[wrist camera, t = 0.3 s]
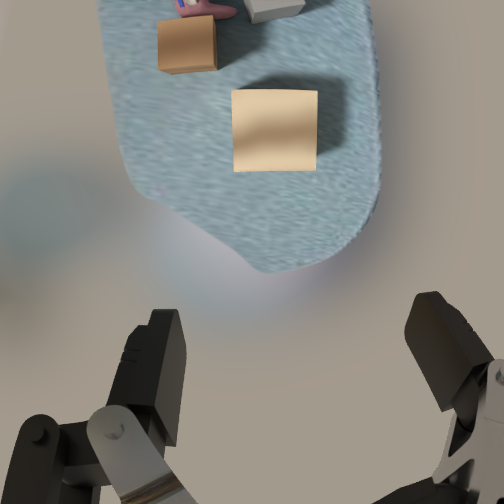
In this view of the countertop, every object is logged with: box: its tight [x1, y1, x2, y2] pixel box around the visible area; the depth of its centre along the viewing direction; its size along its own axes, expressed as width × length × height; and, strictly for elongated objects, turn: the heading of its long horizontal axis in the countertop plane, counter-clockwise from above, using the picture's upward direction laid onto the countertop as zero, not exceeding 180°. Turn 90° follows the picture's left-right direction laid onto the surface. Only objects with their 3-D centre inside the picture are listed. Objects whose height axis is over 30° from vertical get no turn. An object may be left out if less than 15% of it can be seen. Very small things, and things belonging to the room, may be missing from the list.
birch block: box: [231, 89, 317, 172], centre depth 29 cm, size 8×8×5 cm
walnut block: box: [158, 15, 218, 75], centre depth 25 cm, size 5×5×6 cm
